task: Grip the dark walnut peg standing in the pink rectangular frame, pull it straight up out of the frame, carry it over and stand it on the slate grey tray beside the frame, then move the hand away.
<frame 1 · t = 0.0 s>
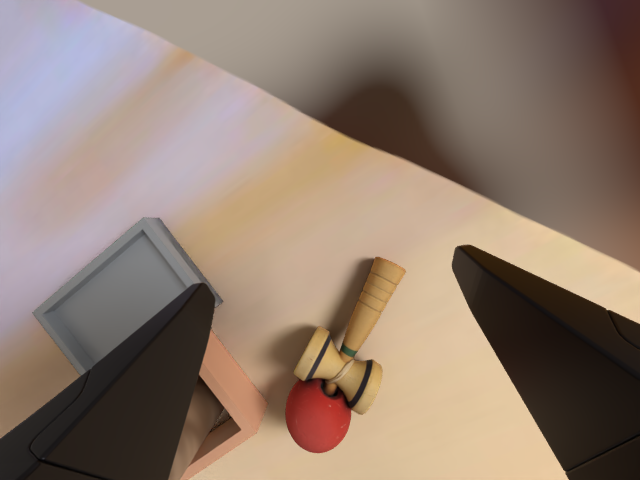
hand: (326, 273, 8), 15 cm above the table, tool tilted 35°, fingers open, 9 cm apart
grey tray: (136, 303, 25), on the table
kendama: (345, 335, 24), on the table
walnut peg: (204, 391, 25), resting in pink rectangular frame
pink rectangular frame: (204, 391, 25), on the table
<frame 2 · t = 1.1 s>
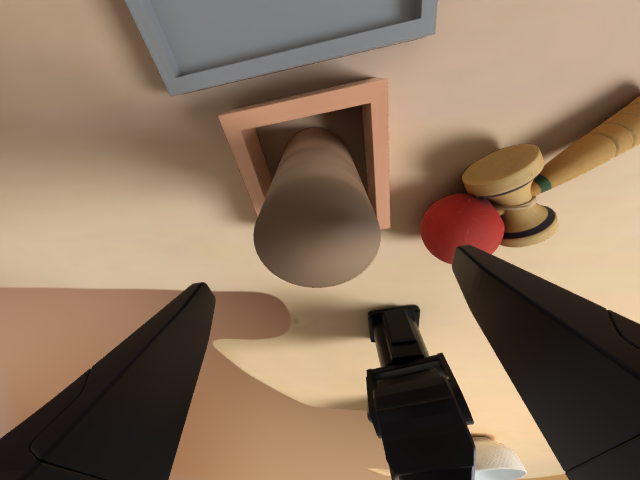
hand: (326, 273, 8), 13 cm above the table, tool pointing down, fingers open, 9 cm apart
kendama: (510, 171, 20), on the table
cereal bowl: (472, 440, 63), on the table
walnut peg: (316, 164, 19), resting in pink rectangular frame
pink rectangular frame: (316, 164, 19), on the table
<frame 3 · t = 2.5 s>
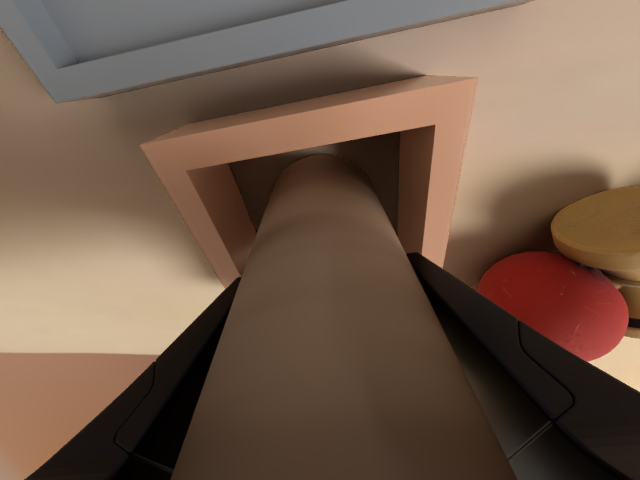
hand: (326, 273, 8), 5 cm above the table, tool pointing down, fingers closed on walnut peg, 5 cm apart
kendama: (614, 216, 14), on the table
walnut peg: (322, 206, 13), resting in pink rectangular frame, touching gripper
pink rectangular frame: (322, 207, 13), on the table
when the fingers open (7 cm above the table, at t = 6.4 s): walnut peg stays where it is, resting on grey tray.
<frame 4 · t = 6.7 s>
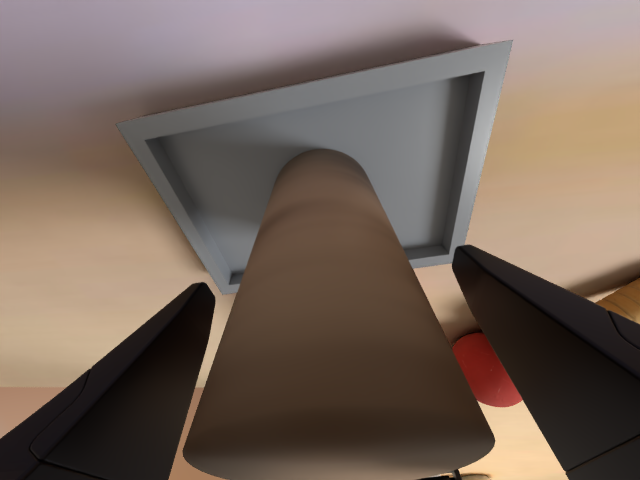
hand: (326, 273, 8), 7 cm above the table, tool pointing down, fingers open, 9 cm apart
grey tray: (321, 191, 14), on the table
kendama: (533, 311, 22), on the table
cereal bowl: (471, 476, 66), on the table
walnut peg: (322, 199, 13), point 1 cm above the table, touching grey tray
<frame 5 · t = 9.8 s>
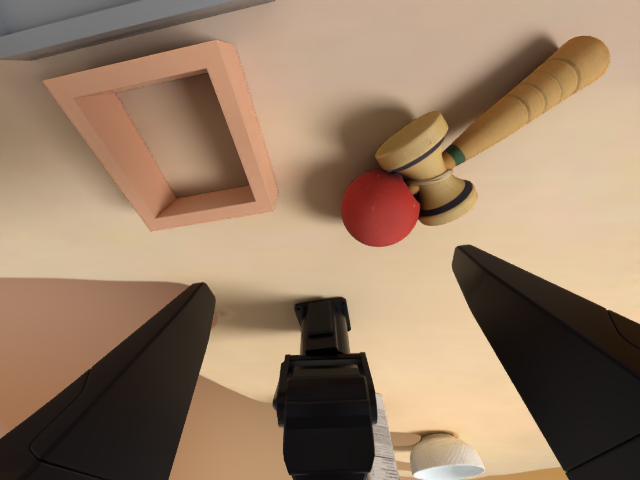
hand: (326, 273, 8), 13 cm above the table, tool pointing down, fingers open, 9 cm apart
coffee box: (356, 398, 47), on the table
kendama: (434, 145, 19), on the table
cereal bowl: (435, 436, 63), on the table
pink rectangular frame: (197, 142, 18), on the table
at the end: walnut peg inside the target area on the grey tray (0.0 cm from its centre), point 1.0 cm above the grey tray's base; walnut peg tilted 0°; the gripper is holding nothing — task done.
